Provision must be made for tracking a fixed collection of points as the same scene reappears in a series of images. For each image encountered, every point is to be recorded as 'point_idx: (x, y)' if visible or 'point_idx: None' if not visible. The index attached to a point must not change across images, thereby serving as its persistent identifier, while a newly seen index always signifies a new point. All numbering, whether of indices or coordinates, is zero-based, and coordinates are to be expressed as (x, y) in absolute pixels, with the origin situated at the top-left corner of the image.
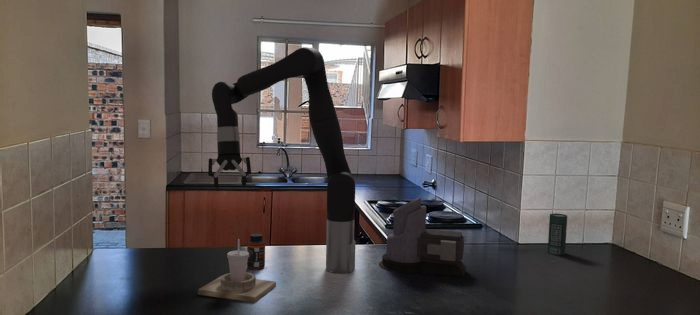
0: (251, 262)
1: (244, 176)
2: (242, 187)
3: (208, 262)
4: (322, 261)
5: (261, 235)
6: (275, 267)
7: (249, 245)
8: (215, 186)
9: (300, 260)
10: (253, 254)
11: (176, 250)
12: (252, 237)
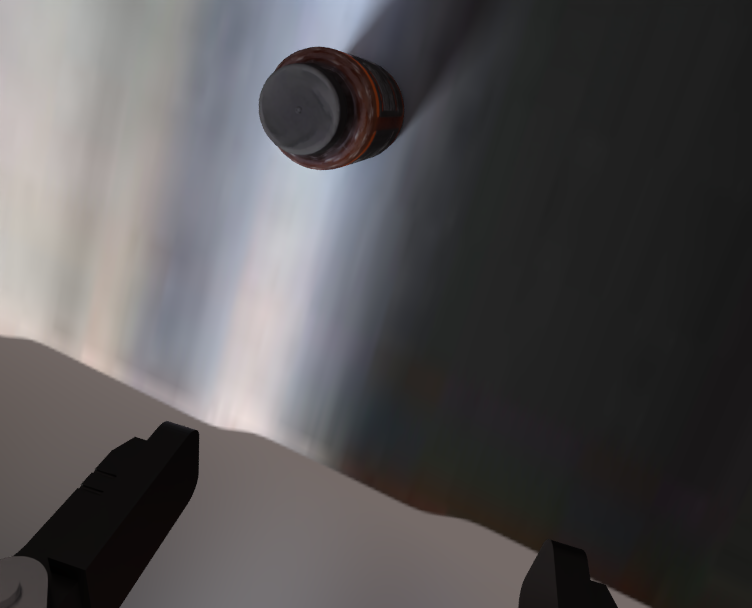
0: (385, 74)
1: (35, 569)
2: (194, 431)
3: (554, 300)
4: (46, 86)
5: (269, 77)
6: None
7: (371, 84)
8: (596, 591)
9: (136, 145)
10: (365, 62)
11: (630, 551)
12: (335, 85)
